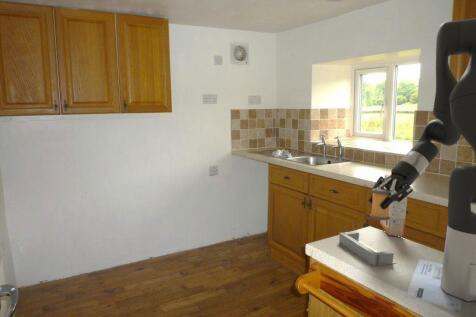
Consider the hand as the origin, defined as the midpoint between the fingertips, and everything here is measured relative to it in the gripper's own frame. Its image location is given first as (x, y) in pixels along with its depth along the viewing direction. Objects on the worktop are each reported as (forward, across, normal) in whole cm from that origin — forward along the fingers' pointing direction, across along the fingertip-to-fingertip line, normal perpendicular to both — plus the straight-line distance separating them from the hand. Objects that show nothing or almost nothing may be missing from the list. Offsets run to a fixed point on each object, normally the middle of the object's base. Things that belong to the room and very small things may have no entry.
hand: (375, 205), depth 111 cm
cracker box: (-3, -16, +26) cm, 30 cm away
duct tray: (+13, 0, +10) cm, 16 cm away
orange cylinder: (+2, 0, +4) cm, 5 cm away
